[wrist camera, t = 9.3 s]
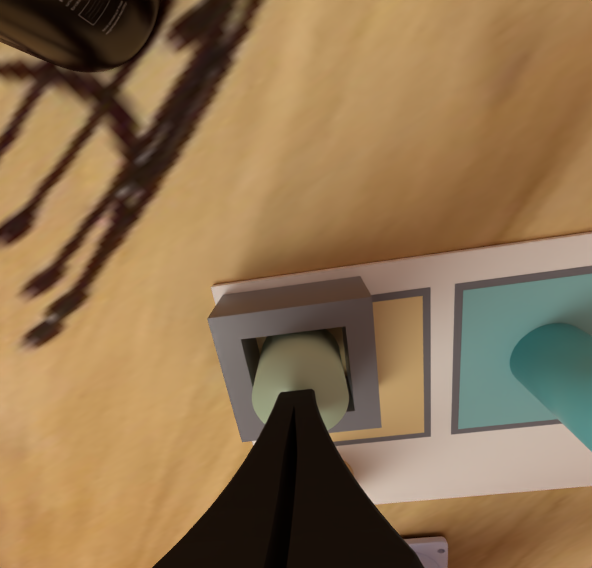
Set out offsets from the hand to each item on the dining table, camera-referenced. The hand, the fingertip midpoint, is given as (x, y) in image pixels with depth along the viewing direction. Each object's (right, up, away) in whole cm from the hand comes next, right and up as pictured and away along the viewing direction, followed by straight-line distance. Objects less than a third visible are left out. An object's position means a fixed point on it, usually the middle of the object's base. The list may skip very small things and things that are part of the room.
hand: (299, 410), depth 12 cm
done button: (0, +1, +4) cm, 4 cm away
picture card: (+9, -1, +6) cm, 11 cm away
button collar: (0, +2, +5) cm, 5 cm away
